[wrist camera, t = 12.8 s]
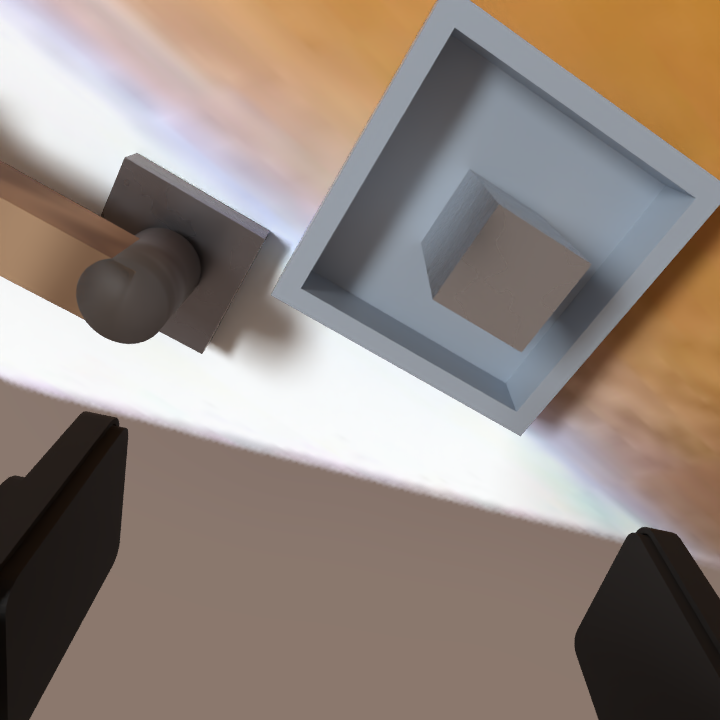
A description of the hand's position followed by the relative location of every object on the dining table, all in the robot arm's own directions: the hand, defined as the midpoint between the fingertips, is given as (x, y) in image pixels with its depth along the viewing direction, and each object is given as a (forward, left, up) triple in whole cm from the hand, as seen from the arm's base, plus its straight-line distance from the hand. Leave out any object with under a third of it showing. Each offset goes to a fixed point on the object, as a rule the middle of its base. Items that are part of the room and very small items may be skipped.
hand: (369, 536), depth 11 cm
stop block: (-4, -3, -20) cm, 21 cm away
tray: (-4, -3, -21) cm, 21 cm away
